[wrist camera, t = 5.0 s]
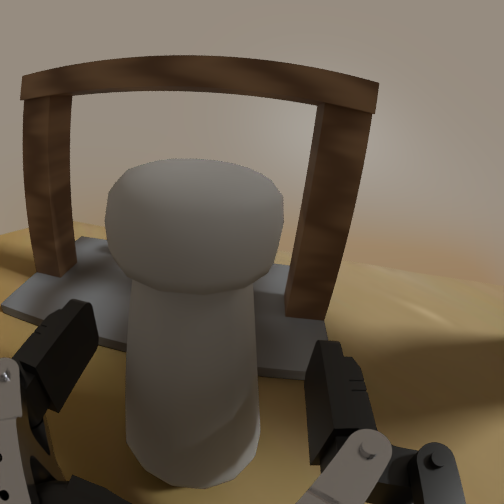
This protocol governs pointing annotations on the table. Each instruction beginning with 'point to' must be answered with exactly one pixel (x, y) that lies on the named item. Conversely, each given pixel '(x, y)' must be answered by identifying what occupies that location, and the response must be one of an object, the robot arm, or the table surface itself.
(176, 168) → the salt shaker
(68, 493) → the robot arm
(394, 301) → the table surface
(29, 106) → the gateway
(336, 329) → the table surface
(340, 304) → the table surface
